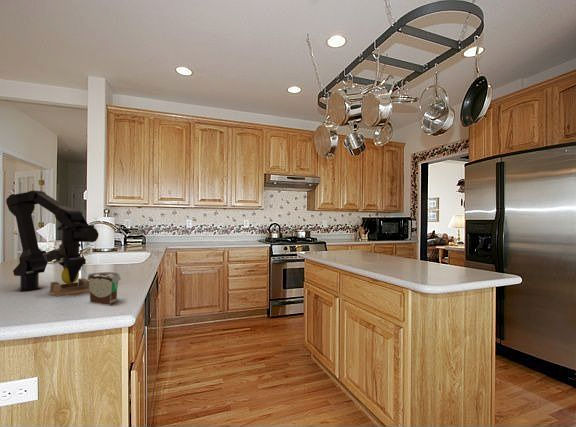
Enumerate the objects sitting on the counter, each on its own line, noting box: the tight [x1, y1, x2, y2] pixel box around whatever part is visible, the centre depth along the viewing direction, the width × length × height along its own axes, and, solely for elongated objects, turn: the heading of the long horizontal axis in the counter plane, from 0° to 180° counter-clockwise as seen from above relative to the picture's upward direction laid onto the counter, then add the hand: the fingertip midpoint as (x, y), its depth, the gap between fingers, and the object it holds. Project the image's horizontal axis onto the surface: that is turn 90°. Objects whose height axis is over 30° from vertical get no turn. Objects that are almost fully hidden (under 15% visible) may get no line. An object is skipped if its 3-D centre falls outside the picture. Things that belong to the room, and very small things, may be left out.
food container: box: [86, 271, 121, 306], centre depth 107 cm, size 12×6×10 cm, turn 71°
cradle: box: [49, 277, 89, 297], centre depth 119 cm, size 9×12×4 cm
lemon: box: [61, 268, 80, 285], centre depth 119 cm, size 6×6×8 cm
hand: (69, 280), depth 119 cm, fingers closed on lemon, 5 cm apart
